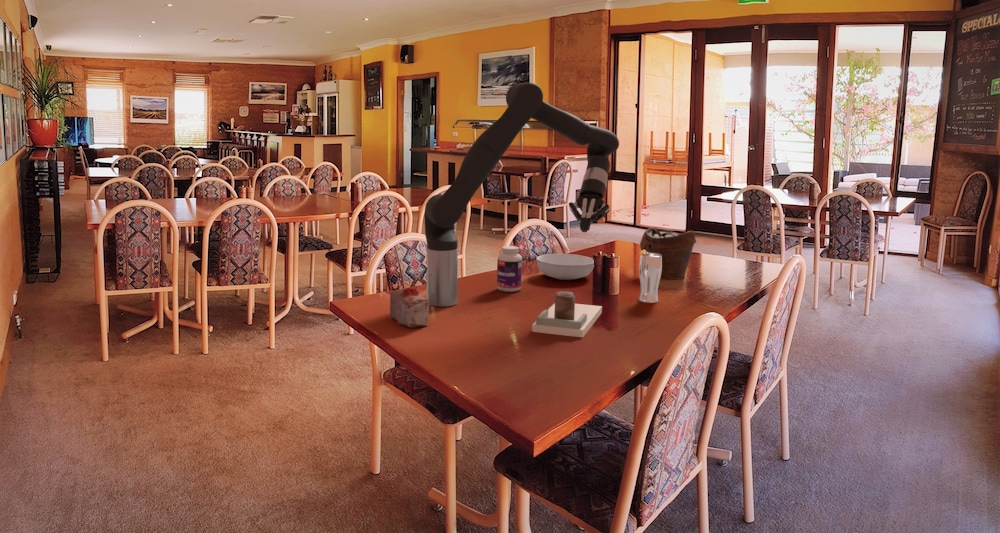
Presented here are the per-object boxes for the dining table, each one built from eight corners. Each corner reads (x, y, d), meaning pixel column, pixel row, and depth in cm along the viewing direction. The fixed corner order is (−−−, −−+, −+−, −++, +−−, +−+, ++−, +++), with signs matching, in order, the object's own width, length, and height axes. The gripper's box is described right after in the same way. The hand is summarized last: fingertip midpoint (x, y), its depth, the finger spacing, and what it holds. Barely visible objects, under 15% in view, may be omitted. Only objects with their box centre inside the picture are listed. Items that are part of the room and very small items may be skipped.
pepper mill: (556, 325, 196) (557, 295, 194) (552, 319, 201) (553, 291, 199) (576, 324, 197) (577, 295, 195) (571, 319, 202) (572, 290, 200)
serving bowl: (578, 287, 248) (579, 267, 247) (525, 278, 259) (525, 259, 257) (603, 276, 265) (604, 257, 264) (552, 268, 276) (553, 251, 275)
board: (556, 308, 221) (556, 295, 220) (601, 312, 216) (602, 299, 215) (532, 331, 197) (532, 317, 196) (582, 337, 192) (583, 323, 191)
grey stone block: (433, 326, 200) (433, 292, 198) (407, 331, 195) (407, 295, 193) (410, 315, 211) (410, 282, 209) (385, 319, 206) (384, 285, 204)
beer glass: (661, 299, 233) (664, 253, 229) (656, 304, 226) (659, 257, 223) (640, 297, 235) (643, 251, 232) (634, 302, 229) (637, 255, 226)
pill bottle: (493, 291, 240) (493, 248, 237) (502, 286, 247) (503, 244, 244) (516, 293, 237) (517, 250, 234) (524, 288, 244) (525, 246, 241)
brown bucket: (637, 268, 278) (640, 222, 274) (690, 271, 275) (694, 224, 271) (639, 280, 260) (642, 230, 256) (696, 283, 258) (700, 233, 254)
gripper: (571, 176, 224) (560, 221, 215) (614, 178, 220) (604, 224, 211) (574, 192, 230) (564, 236, 221) (616, 194, 226) (607, 239, 217)
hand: (584, 230), depth 216 cm, fingers closed
